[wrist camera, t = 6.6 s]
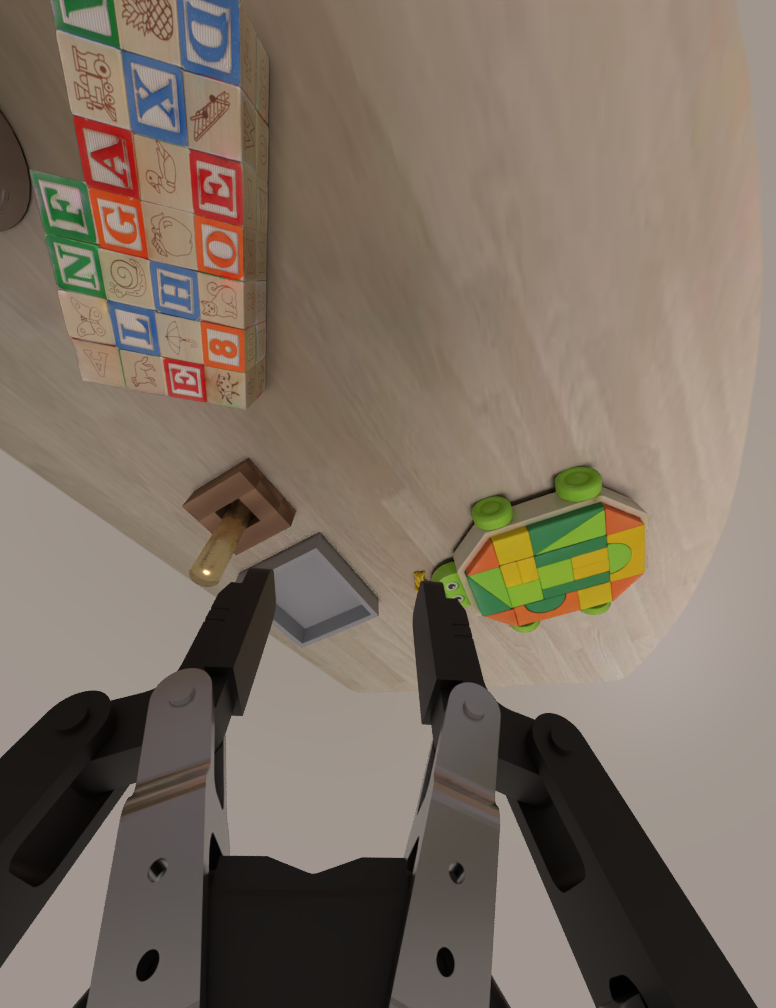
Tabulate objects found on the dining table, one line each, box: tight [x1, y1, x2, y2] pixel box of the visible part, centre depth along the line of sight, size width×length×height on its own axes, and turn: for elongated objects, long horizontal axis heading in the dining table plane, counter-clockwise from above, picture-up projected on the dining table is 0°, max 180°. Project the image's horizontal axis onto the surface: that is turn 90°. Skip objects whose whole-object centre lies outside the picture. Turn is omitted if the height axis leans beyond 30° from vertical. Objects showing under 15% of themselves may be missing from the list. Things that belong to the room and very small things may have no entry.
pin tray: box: [236, 532, 379, 648], centre depth 47 cm, size 14×13×3 cm
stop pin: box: [189, 498, 253, 587], centre depth 36 cm, size 2×2×12 cm
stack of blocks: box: [30, 0, 269, 410], centre depth 25 cm, size 21×6×12 cm
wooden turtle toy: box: [413, 467, 648, 633], centre depth 45 cm, size 22×28×6 cm
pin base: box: [182, 458, 296, 555], centre depth 39 cm, size 8×8×3 cm
